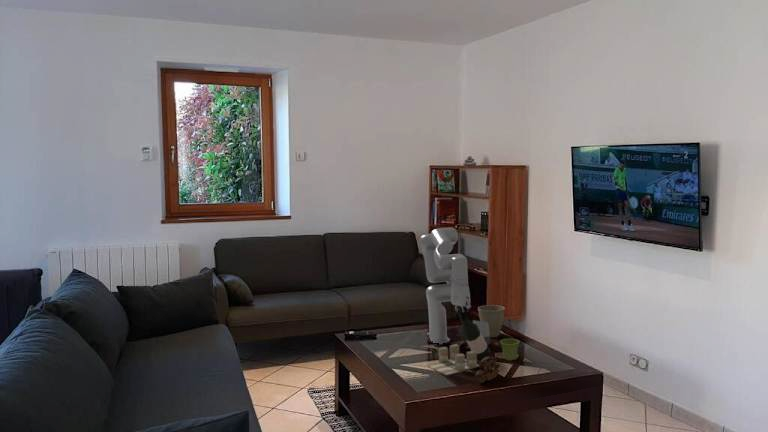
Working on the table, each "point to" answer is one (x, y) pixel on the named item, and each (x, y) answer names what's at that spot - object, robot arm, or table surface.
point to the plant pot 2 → (510, 348)
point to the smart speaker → (483, 330)
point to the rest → (454, 361)
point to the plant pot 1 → (492, 318)
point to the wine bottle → (474, 337)
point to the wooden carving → (487, 369)
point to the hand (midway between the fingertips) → (461, 318)
